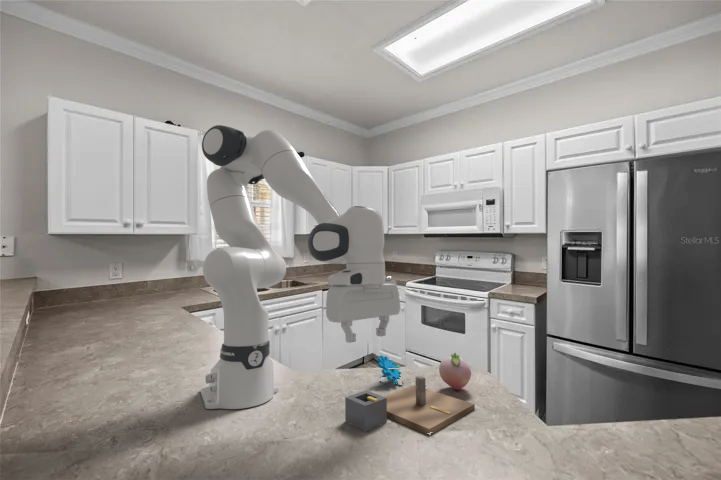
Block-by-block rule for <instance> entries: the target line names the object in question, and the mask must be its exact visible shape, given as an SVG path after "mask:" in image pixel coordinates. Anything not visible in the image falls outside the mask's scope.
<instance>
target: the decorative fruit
mask: <svg viewBox="0 0 721 480" xmlns="http://www.w3.org/2000/svg"><path fill="white" fill-rule="evenodd" d="M438 373H439V375H440V378H441V380H442V381H443V382H444V383H446V385H448V386H449V387H451V388H452V389H454V390H455V389H456V390H455V391H458V390H461V389H463V388H464V387H466V386H467V385H468V384H469V381H470V380H471V377H472V370H471V368H470V365H469V364H468V363H467V362H466V360H464V358H462V357H461V356H460V355H459V354H457V353H456V352H454V353H452V354H451V355H450V356H447V357H445V358H443V359H442V360H441V362H440V363H439V366H438Z"/></svg>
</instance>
